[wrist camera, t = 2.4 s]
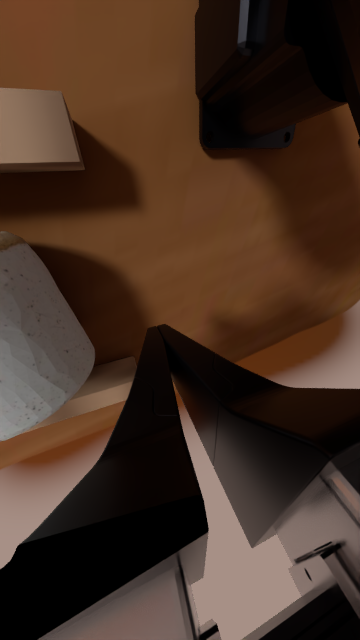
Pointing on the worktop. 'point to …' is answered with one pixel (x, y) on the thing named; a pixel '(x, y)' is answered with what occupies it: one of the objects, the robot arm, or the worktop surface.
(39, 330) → the ceramic mug
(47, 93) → the mug dock
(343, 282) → the worktop surface
